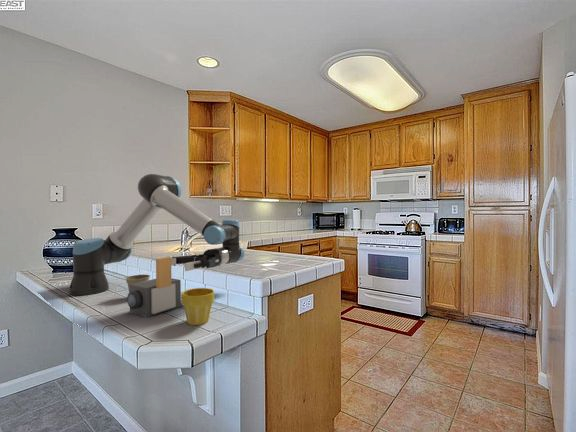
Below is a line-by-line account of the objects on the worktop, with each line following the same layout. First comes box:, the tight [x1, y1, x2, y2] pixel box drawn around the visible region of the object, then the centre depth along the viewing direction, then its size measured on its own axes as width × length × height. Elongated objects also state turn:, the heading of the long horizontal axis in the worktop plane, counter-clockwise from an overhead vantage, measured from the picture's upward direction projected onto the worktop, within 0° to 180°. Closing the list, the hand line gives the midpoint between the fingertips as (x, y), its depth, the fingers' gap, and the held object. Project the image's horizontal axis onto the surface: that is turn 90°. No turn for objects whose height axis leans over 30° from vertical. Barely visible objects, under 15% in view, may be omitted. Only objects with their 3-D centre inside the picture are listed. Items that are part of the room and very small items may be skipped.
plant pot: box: [181, 287, 215, 326], centre depth 98 cm, size 10×10×10 cm
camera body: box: [126, 277, 182, 318], centre depth 110 cm, size 16×10×11 cm, turn 148°
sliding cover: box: [151, 256, 176, 314], centre depth 107 cm, size 9×2×18 cm, turn 148°
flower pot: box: [124, 274, 151, 290], centre depth 127 cm, size 9×9×9 cm
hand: (172, 265), depth 109 cm, fingers open, 13 cm apart
